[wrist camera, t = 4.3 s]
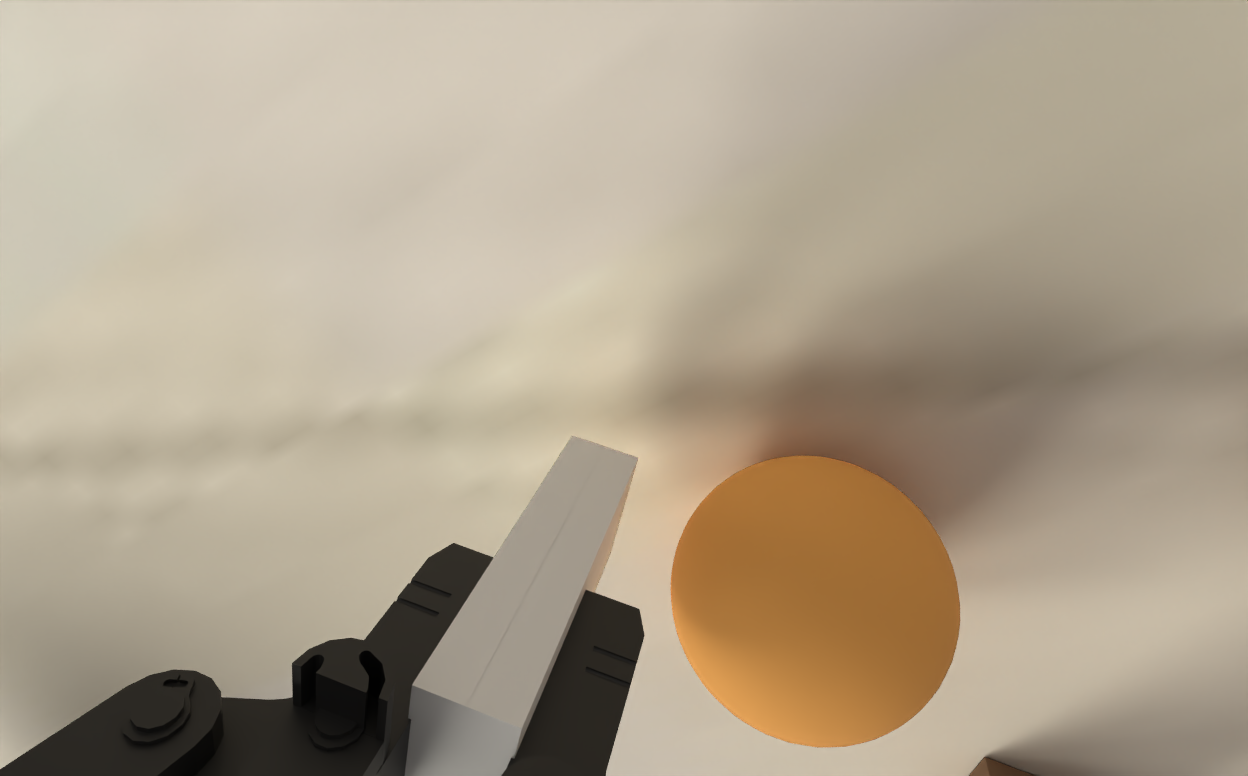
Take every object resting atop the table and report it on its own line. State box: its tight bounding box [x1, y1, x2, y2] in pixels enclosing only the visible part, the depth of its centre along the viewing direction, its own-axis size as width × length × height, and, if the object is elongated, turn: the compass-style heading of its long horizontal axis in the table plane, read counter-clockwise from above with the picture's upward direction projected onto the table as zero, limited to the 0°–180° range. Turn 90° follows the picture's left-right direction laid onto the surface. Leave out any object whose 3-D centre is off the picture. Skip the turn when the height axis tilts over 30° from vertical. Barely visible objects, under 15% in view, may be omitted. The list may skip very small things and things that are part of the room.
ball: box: [671, 456, 960, 747], centre depth 13 cm, size 6×6×6 cm
